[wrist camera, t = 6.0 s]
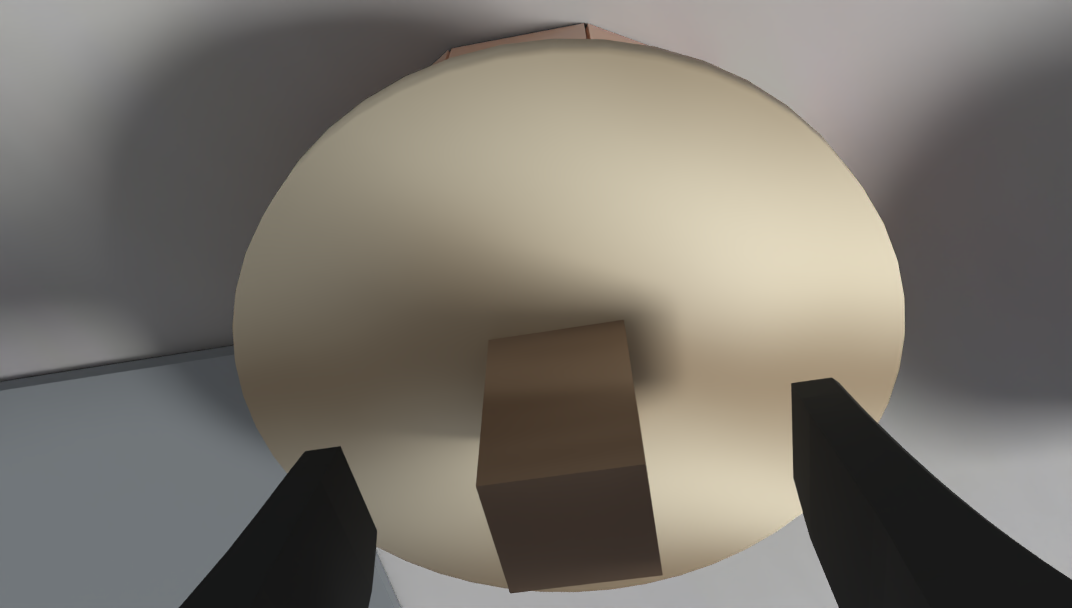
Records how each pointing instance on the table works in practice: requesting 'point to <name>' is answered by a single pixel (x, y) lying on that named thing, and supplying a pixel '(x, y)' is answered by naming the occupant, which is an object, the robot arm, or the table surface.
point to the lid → (565, 311)
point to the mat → (130, 482)
